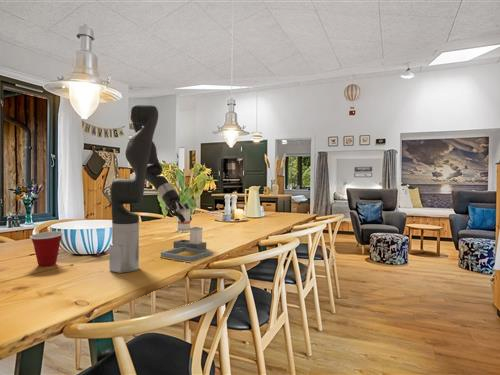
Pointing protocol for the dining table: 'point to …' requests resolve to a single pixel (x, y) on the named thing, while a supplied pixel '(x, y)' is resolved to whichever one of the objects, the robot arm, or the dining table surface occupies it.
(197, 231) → the block
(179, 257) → the tray
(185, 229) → the block
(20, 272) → the dining table surface
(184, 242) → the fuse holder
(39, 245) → the plastic cup
